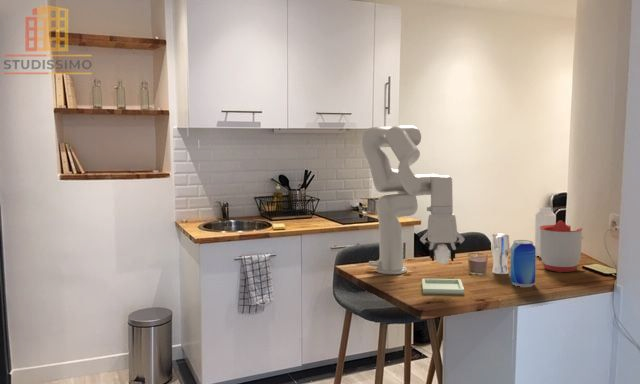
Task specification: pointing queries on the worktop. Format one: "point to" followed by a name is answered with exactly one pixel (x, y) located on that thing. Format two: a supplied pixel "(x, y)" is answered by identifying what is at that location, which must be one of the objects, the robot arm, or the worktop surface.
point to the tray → (442, 286)
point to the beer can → (523, 263)
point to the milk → (543, 219)
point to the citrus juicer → (560, 247)
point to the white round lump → (442, 254)
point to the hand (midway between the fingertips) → (442, 259)
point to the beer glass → (500, 253)
